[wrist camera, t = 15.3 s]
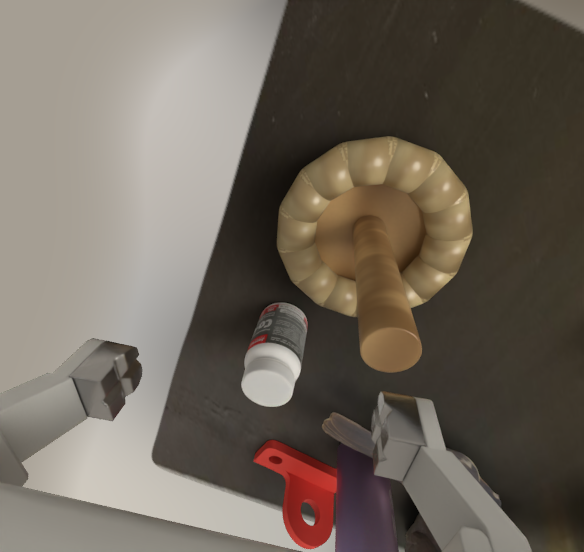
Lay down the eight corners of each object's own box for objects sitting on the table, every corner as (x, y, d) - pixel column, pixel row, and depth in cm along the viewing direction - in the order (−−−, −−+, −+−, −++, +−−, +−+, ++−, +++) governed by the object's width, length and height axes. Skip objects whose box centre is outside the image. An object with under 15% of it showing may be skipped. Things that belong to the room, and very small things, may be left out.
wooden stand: (444, 171, 22) (569, 269, 10) (410, 279, 27) (466, 439, 15) (318, 157, 23) (287, 232, 11) (305, 265, 28) (274, 405, 15)
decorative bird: (466, 490, 41) (481, 537, 36) (308, 399, 36) (303, 440, 32) (510, 471, 38) (531, 519, 33) (343, 369, 33) (342, 410, 29)
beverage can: (335, 431, 39) (331, 601, 26) (386, 433, 37) (408, 612, 25) (339, 460, 41) (336, 626, 29) (386, 463, 40) (406, 637, 27)
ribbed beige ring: (495, 145, 20) (516, 152, 17) (429, 315, 27) (438, 337, 24) (288, 123, 21) (280, 127, 19) (276, 292, 28) (269, 311, 25)
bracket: (347, 474, 43) (348, 546, 36) (329, 487, 45) (326, 557, 38) (270, 437, 41) (256, 505, 34) (255, 453, 43) (239, 519, 37)
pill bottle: (271, 293, 30) (247, 357, 23) (316, 313, 30) (307, 382, 23) (253, 327, 32) (227, 395, 25) (295, 346, 33) (282, 417, 25)
